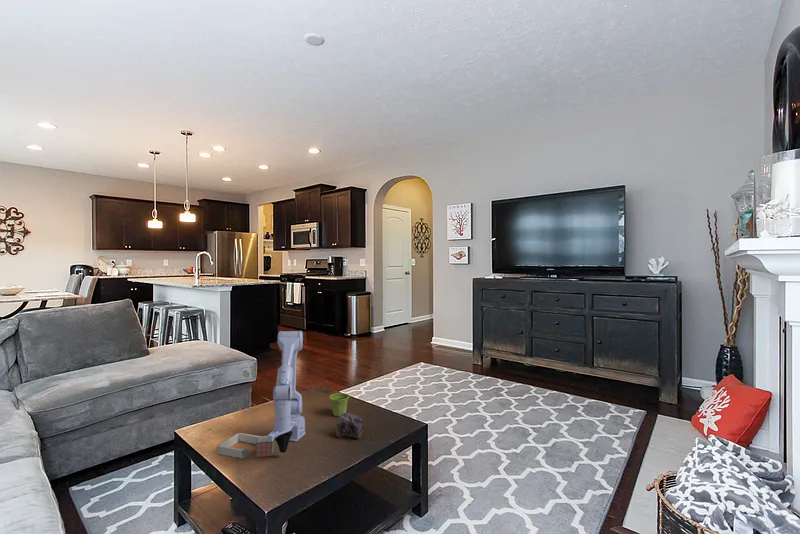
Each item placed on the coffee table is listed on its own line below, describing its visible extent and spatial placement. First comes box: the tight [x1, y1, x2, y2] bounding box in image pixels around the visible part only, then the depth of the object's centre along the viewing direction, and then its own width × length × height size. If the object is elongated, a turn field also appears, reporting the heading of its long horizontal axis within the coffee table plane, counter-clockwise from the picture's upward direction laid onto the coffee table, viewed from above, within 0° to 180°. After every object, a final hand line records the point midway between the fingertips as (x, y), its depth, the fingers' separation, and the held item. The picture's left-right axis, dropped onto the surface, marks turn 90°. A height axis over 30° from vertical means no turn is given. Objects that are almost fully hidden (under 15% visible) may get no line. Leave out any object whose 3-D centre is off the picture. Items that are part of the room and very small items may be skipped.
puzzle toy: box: [255, 435, 275, 458], centre depth 152 cm, size 6×6×6 cm
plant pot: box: [329, 392, 350, 417], centre depth 190 cm, size 9×9×9 cm
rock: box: [333, 412, 366, 439], centre depth 168 cm, size 12×9×10 cm
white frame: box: [216, 432, 260, 460], centre depth 156 cm, size 12×12×3 cm
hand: (283, 451), depth 150 cm, fingers closed
